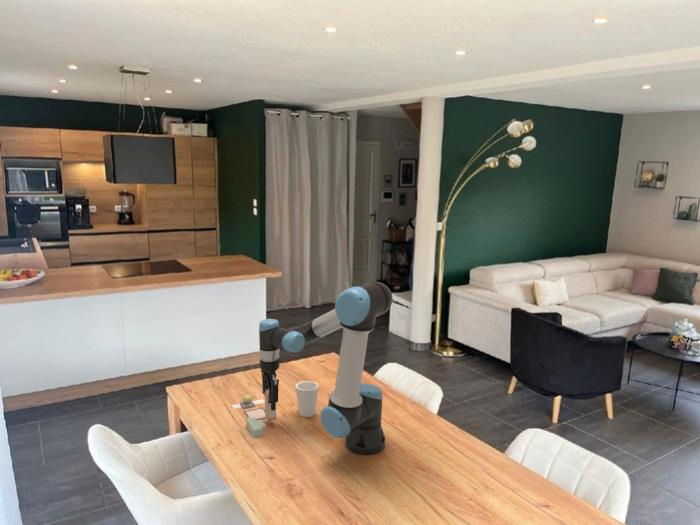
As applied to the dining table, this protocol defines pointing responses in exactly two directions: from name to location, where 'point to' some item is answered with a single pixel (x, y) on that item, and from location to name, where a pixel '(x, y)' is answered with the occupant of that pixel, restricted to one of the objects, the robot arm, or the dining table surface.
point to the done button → (247, 397)
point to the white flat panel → (253, 413)
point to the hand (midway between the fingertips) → (270, 414)
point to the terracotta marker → (267, 406)
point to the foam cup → (307, 397)
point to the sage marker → (254, 427)
